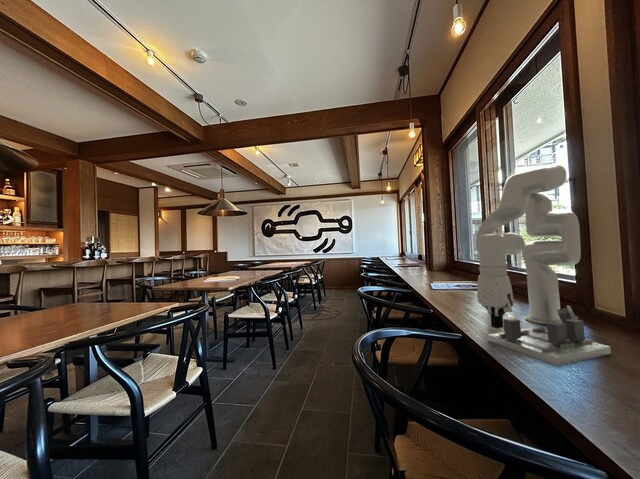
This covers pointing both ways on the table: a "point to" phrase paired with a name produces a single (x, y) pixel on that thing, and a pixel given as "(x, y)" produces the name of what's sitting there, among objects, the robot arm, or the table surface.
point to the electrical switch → (566, 314)
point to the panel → (550, 347)
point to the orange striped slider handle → (512, 328)
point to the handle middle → (557, 333)
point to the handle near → (575, 329)
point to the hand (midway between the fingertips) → (497, 327)
